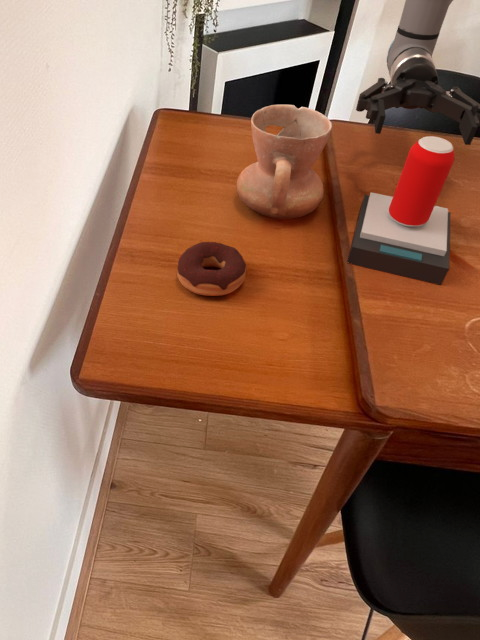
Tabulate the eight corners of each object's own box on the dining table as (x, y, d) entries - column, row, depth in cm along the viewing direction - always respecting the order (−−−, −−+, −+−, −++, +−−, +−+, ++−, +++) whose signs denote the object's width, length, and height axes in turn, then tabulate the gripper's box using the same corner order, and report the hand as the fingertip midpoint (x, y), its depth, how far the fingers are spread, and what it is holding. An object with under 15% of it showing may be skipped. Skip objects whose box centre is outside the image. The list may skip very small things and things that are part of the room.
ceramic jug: (244, 174, 97) (254, 91, 86) (323, 187, 95) (343, 105, 84) (224, 227, 85) (232, 139, 74) (313, 243, 83) (335, 156, 72)
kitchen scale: (441, 285, 78) (452, 263, 75) (346, 263, 80) (353, 240, 77) (443, 228, 88) (453, 206, 85) (359, 210, 90) (366, 188, 87)
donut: (212, 249, 81) (214, 227, 78) (259, 281, 76) (263, 259, 73) (162, 275, 76) (162, 252, 73) (208, 311, 71) (210, 288, 68)
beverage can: (420, 210, 84) (451, 134, 75) (431, 232, 80) (465, 155, 71) (382, 207, 84) (409, 131, 75) (390, 229, 80) (420, 152, 71)
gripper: (475, 109, 96) (498, 164, 82) (338, 93, 98) (337, 144, 84) (494, 64, 90) (522, 115, 76) (348, 48, 93) (349, 94, 79)
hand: (425, 130), depth 80 cm, fingers open, 13 cm apart
